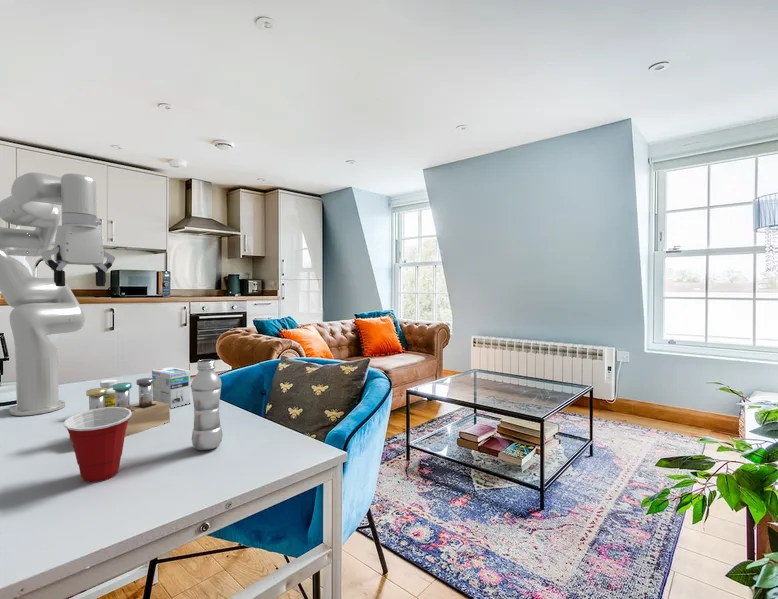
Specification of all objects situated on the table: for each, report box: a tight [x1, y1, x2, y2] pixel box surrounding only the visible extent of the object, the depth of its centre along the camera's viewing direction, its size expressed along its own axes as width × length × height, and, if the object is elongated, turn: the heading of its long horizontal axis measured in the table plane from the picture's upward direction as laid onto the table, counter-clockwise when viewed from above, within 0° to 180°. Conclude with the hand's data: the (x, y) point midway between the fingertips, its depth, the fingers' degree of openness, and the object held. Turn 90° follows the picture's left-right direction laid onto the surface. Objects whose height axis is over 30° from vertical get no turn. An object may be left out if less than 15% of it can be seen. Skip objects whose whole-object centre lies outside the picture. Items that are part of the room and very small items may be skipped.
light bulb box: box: [151, 366, 192, 409], centre depth 129 cm, size 11×7×11 cm, turn 58°
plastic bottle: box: [190, 358, 224, 451], centre depth 94 cm, size 6×7×20 cm
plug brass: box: [85, 387, 107, 411], centre depth 99 cm, size 4×4×8 cm
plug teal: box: [113, 382, 132, 410], centre depth 104 cm, size 4×4×8 cm
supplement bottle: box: [99, 379, 118, 408], centre depth 119 cm, size 5×5×10 cm
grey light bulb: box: [135, 377, 154, 409], centre depth 110 cm, size 4×4×8 cm
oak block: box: [68, 399, 171, 444], centre depth 105 cm, size 8×20×5 cm, turn 154°
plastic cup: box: [63, 407, 132, 483], centre depth 80 cm, size 11×11×12 cm
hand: (81, 286), depth 111 cm, fingers open, 9 cm apart
